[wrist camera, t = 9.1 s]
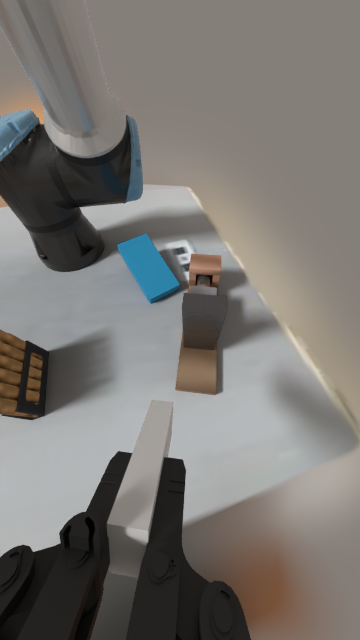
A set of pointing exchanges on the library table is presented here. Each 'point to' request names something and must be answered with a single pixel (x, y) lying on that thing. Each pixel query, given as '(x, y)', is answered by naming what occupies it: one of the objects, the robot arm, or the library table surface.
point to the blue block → (148, 268)
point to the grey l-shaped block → (202, 317)
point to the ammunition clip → (22, 378)
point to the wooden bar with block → (200, 363)
